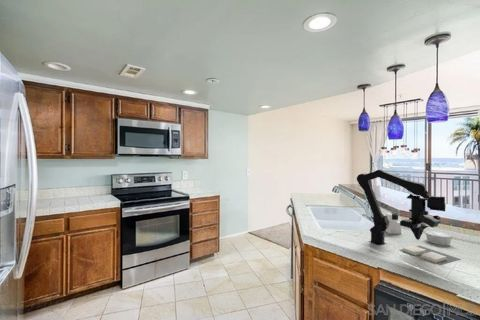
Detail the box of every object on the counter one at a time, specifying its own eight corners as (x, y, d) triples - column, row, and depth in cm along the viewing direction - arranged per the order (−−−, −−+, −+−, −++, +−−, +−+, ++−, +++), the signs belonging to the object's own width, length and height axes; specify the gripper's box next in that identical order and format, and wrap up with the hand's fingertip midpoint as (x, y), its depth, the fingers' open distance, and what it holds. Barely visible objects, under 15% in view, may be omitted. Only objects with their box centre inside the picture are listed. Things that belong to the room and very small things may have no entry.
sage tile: (426, 253, 116) (415, 255, 113) (413, 248, 122) (402, 250, 119) (426, 249, 116) (415, 252, 113) (413, 245, 122) (402, 247, 119)
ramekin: (420, 241, 135) (420, 231, 135) (433, 238, 139) (433, 229, 139) (443, 248, 124) (443, 238, 124) (456, 245, 128) (456, 235, 128)
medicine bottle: (395, 230, 153) (395, 212, 153) (401, 234, 146) (401, 214, 145) (383, 230, 154) (383, 211, 153) (389, 234, 146) (389, 214, 146)
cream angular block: (446, 260, 108) (435, 263, 105) (431, 255, 114) (421, 257, 111) (446, 256, 108) (435, 259, 105) (431, 251, 114) (421, 254, 111)
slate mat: (440, 266, 103) (440, 265, 103) (398, 251, 120) (398, 250, 120) (461, 260, 109) (461, 259, 109) (419, 246, 126) (419, 245, 126)
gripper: (424, 213, 107) (423, 248, 107) (448, 210, 114) (448, 242, 114) (399, 208, 117) (399, 239, 118) (423, 205, 124) (423, 235, 125)
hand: (417, 239), depth 118 cm, fingers closed
